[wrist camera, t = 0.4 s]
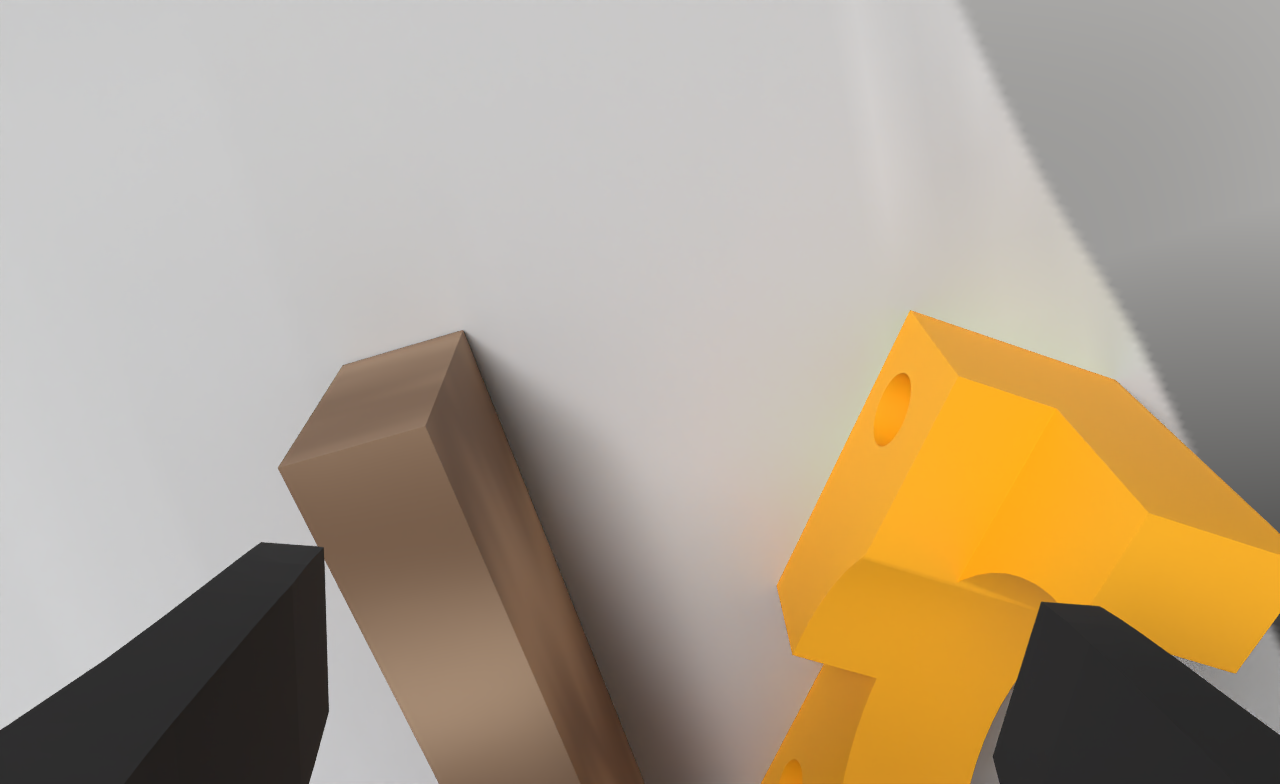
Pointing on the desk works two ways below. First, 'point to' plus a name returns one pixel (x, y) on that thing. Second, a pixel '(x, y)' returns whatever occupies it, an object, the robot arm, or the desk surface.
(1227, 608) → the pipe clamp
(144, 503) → the desk surface
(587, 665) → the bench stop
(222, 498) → the desk surface
